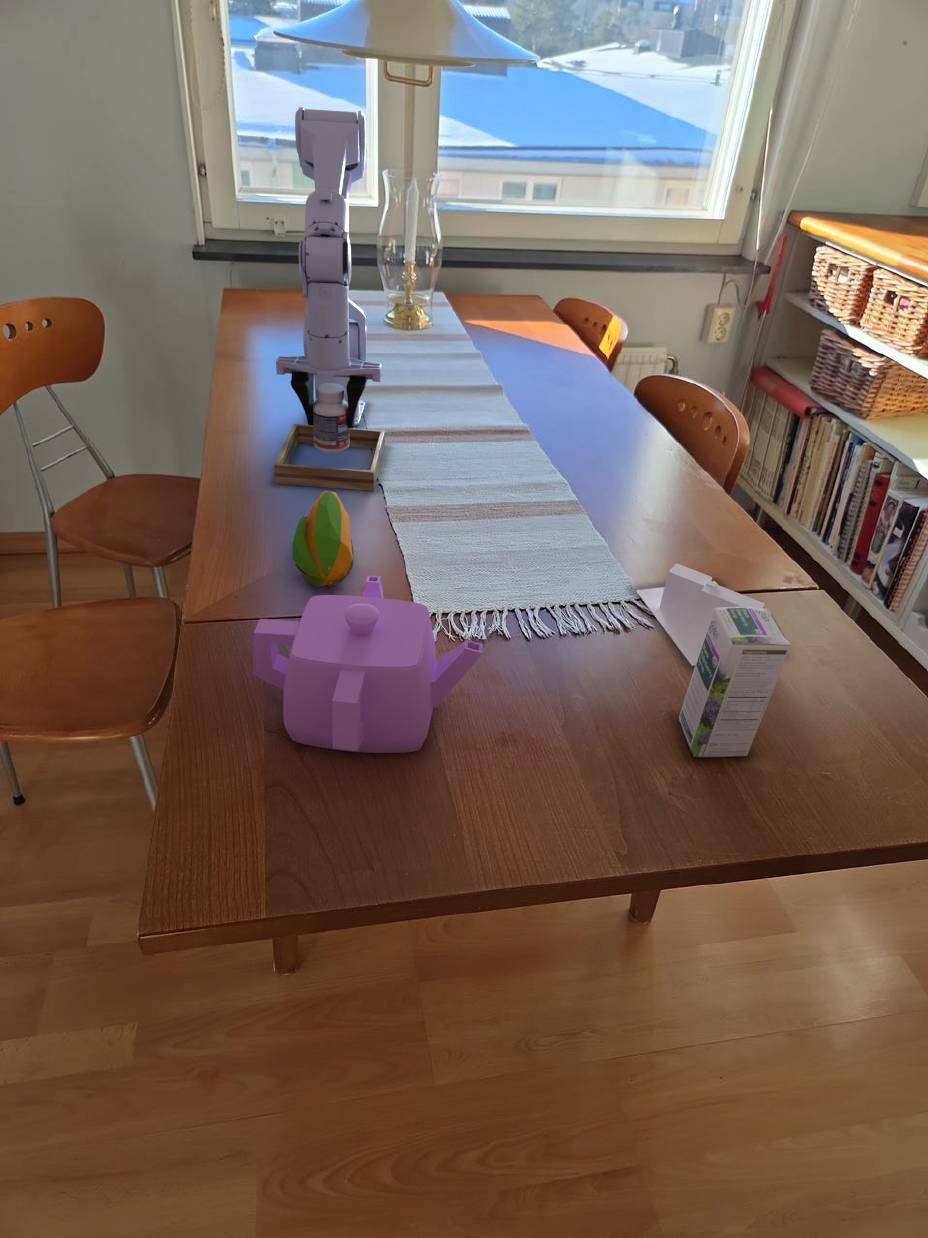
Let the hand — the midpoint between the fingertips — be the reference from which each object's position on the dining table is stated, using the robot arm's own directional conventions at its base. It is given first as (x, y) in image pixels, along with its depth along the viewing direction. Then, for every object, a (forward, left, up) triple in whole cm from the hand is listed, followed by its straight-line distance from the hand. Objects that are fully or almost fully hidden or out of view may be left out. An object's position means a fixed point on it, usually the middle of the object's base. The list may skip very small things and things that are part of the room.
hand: (331, 423), depth 123 cm
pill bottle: (0, 0, -4) cm, 4 cm away
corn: (+25, +3, -7) cm, 26 cm away
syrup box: (+53, +47, -7) cm, 71 cm away
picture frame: (0, 0, -7) cm, 7 cm away
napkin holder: (+33, +50, -7) cm, 60 cm away
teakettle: (+52, +12, -7) cm, 54 cm away
